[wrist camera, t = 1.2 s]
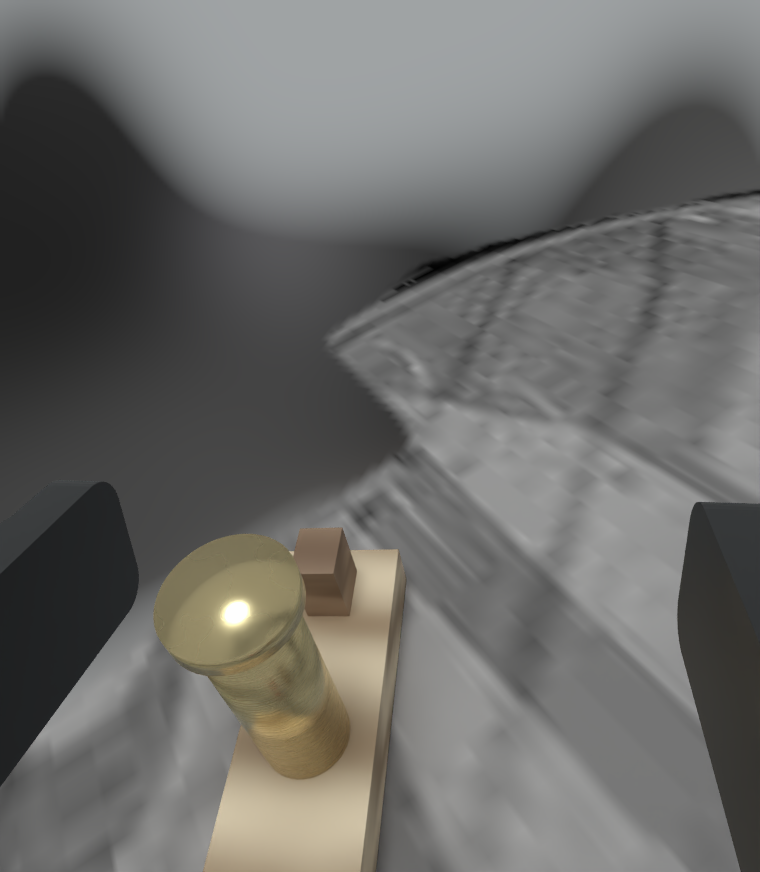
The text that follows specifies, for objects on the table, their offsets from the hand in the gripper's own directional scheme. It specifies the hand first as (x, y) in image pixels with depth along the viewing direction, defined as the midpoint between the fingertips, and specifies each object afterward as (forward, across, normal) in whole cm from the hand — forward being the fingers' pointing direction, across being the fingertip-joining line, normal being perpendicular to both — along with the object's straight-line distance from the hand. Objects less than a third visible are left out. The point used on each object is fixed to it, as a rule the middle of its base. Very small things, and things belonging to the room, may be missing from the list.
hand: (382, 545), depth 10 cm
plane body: (+16, +8, +25) cm, 31 cm away
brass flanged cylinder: (+15, +8, +22) cm, 28 cm away
